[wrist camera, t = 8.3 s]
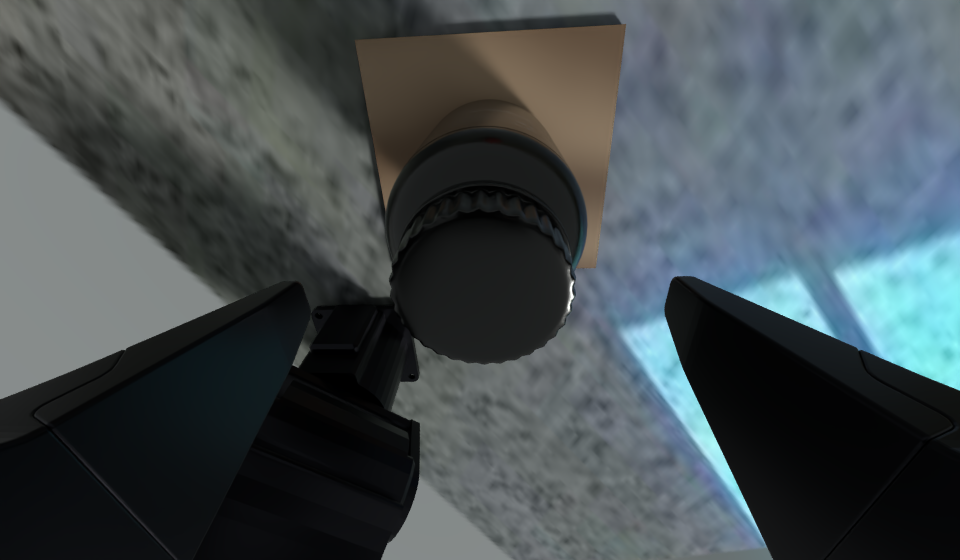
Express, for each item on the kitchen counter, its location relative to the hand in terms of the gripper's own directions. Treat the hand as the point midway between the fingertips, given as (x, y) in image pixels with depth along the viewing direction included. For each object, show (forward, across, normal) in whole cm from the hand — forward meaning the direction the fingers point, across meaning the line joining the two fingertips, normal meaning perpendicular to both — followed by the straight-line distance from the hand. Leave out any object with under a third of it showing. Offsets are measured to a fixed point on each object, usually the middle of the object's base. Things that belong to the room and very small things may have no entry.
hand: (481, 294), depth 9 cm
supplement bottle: (+12, 0, 0) cm, 12 cm away
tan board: (+13, 0, 0) cm, 13 cm away
